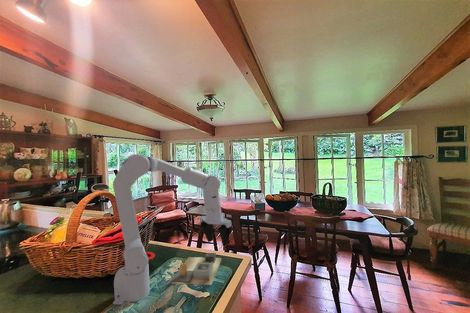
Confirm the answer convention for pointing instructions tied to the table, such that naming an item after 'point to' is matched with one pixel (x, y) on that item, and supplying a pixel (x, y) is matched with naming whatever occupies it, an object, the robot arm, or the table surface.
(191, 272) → the square tray with peg
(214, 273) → the board
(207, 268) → the square metal tube
